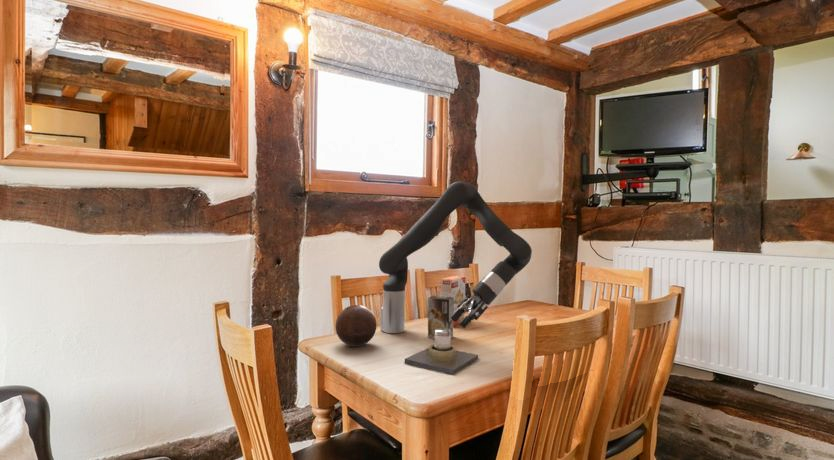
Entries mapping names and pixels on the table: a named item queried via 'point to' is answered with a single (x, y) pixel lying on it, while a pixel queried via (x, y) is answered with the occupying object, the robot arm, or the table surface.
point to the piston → (442, 339)
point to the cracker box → (454, 292)
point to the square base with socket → (442, 360)
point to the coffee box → (439, 314)
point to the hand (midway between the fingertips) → (456, 323)
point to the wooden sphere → (355, 325)
